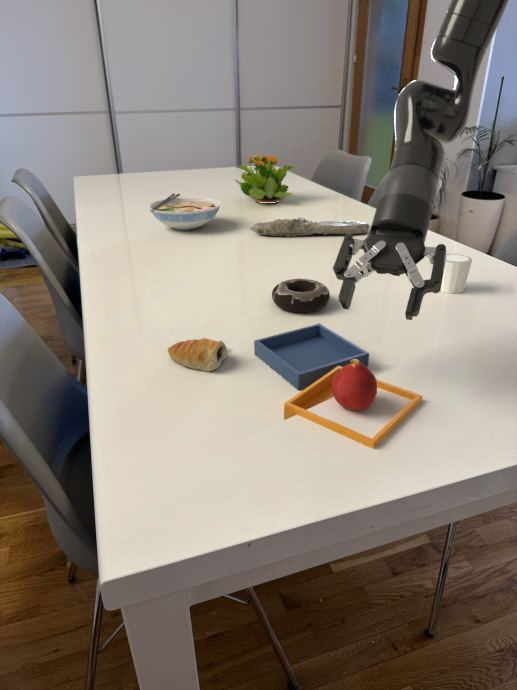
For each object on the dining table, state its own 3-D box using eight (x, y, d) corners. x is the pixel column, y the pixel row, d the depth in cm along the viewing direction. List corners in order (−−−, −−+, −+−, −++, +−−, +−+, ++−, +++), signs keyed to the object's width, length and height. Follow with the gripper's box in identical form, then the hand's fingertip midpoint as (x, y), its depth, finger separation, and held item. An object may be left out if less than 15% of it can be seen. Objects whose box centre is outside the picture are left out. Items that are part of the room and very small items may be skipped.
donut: (275, 292, 111) (276, 274, 109) (330, 295, 109) (331, 277, 107) (267, 313, 100) (267, 294, 99) (327, 317, 99) (328, 297, 97)
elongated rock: (371, 241, 151) (364, 234, 160) (374, 222, 149) (366, 217, 158) (253, 237, 149) (252, 230, 158) (253, 218, 147) (252, 212, 156)
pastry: (161, 366, 82) (158, 344, 80) (179, 347, 88) (177, 327, 86) (215, 374, 80) (214, 352, 78) (230, 355, 85) (230, 334, 84)
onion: (352, 394, 73) (356, 344, 69) (383, 413, 68) (389, 360, 65) (322, 408, 70) (324, 356, 66) (352, 429, 65) (357, 374, 62)
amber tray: (337, 380, 77) (338, 365, 76) (419, 411, 70) (422, 395, 69) (283, 419, 69) (284, 403, 67) (371, 460, 61) (373, 442, 60)
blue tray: (319, 336, 91) (319, 323, 90) (368, 367, 81) (369, 353, 80) (254, 354, 85) (253, 340, 84) (298, 390, 75) (298, 375, 74)
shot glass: (456, 296, 107) (462, 264, 104) (427, 288, 112) (431, 257, 109) (472, 288, 111) (478, 257, 108) (443, 281, 116) (448, 250, 113)
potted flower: (311, 204, 193) (313, 154, 185) (258, 212, 182) (257, 160, 174) (275, 194, 212) (275, 149, 204) (224, 200, 201) (222, 153, 193)
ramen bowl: (211, 239, 150) (209, 210, 147) (137, 236, 154) (134, 208, 150) (230, 219, 172) (229, 194, 169) (165, 217, 176) (163, 193, 172)
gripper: (351, 187, 71) (318, 292, 67) (458, 194, 65) (430, 309, 61) (359, 218, 78) (330, 314, 74) (458, 226, 72) (432, 332, 68)
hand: (375, 312), depth 68 cm, fingers open, 8 cm apart
